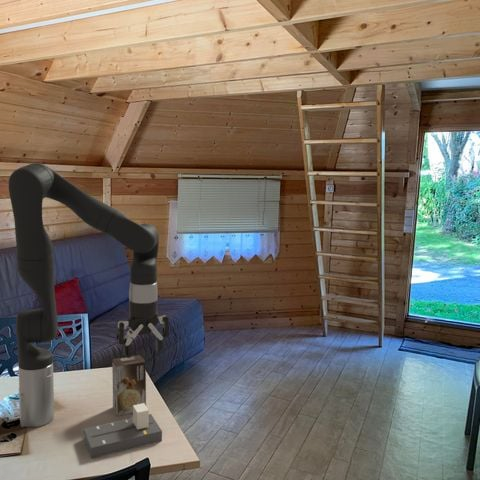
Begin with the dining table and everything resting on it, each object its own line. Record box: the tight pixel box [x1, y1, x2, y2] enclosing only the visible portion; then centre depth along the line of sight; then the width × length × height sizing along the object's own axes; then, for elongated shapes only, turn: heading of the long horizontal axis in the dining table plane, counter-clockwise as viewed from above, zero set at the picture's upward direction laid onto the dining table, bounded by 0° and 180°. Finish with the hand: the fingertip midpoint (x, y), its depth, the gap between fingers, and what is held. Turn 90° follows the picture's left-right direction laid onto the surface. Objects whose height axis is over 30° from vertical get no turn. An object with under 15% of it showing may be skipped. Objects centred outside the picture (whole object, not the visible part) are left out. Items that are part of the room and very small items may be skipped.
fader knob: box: [132, 403, 150, 430], centre depth 131 cm, size 3×4×5 cm
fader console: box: [83, 413, 163, 460], centre depth 129 cm, size 19×10×3 cm, turn 118°
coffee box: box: [111, 354, 147, 417], centre depth 145 cm, size 9×6×16 cm
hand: (143, 354), depth 129 cm, fingers open, 8 cm apart
